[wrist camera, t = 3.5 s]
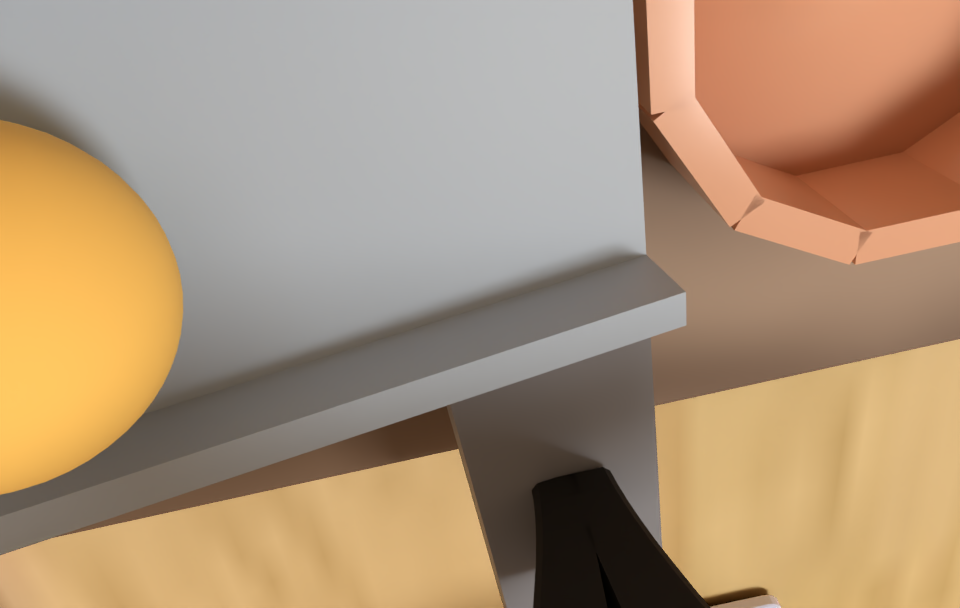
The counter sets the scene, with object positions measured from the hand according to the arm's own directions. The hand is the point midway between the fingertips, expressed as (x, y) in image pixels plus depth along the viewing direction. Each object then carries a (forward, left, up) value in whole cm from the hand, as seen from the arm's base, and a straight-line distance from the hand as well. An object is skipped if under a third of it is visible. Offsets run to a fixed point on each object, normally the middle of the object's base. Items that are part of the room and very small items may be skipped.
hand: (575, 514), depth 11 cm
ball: (+7, +5, +2) cm, 9 cm away
